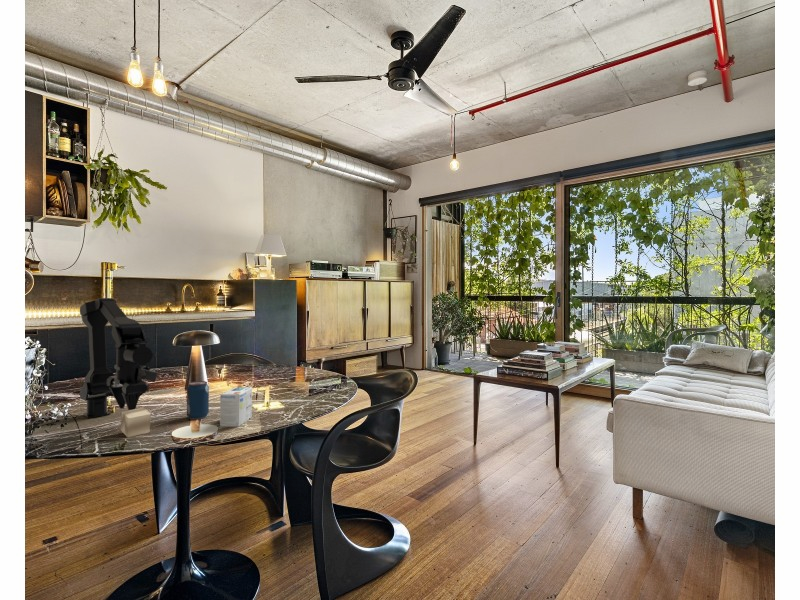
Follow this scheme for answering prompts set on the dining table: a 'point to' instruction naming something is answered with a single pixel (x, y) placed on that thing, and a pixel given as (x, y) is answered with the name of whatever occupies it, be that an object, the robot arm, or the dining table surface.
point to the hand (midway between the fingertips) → (126, 410)
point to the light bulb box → (235, 406)
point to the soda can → (197, 400)
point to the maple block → (135, 422)
